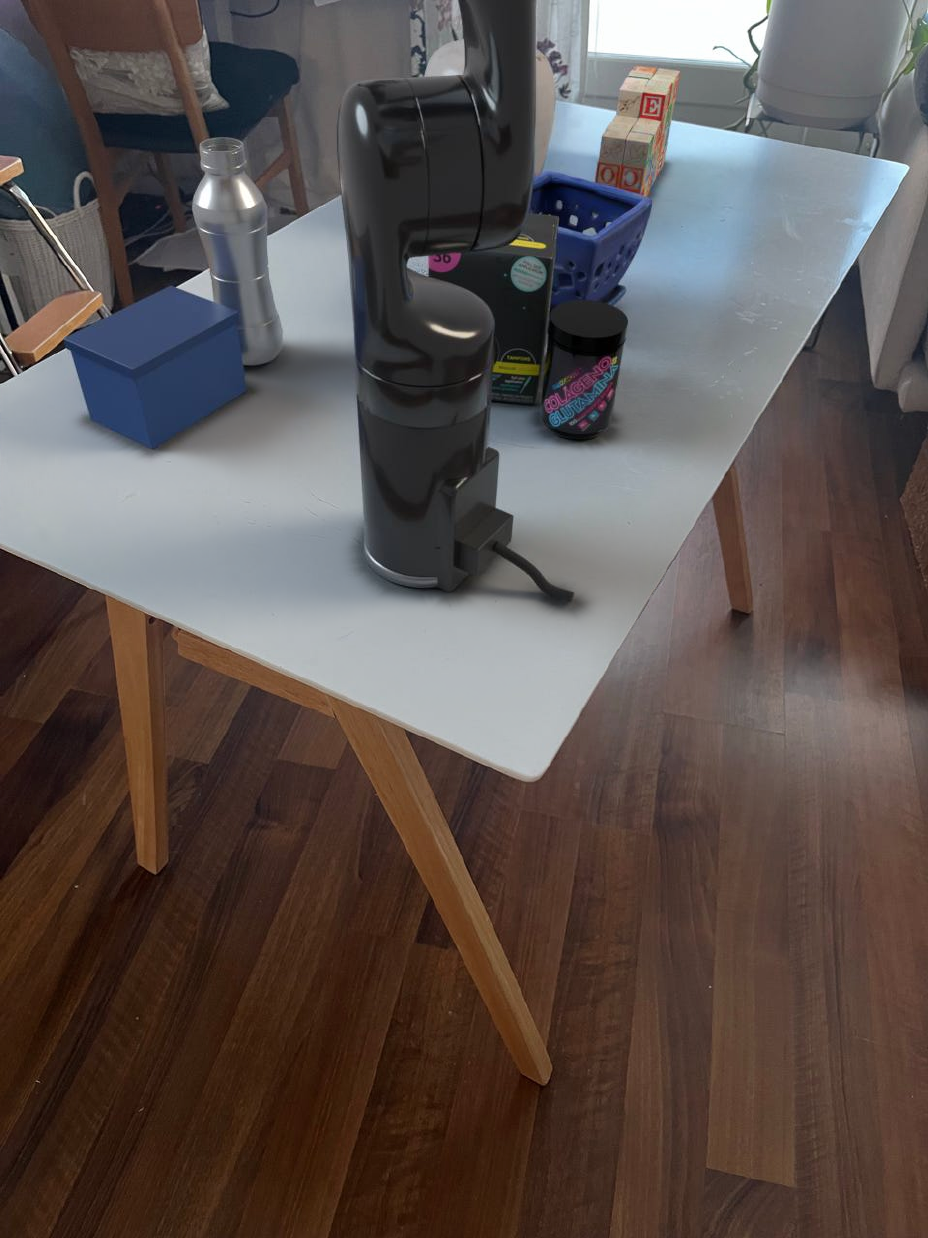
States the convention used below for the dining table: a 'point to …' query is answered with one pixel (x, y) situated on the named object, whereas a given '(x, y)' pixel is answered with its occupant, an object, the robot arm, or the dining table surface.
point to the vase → (453, 62)
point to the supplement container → (582, 368)
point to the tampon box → (511, 301)
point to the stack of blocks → (638, 131)
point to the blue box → (159, 365)
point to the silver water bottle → (237, 247)
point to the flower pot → (586, 259)
